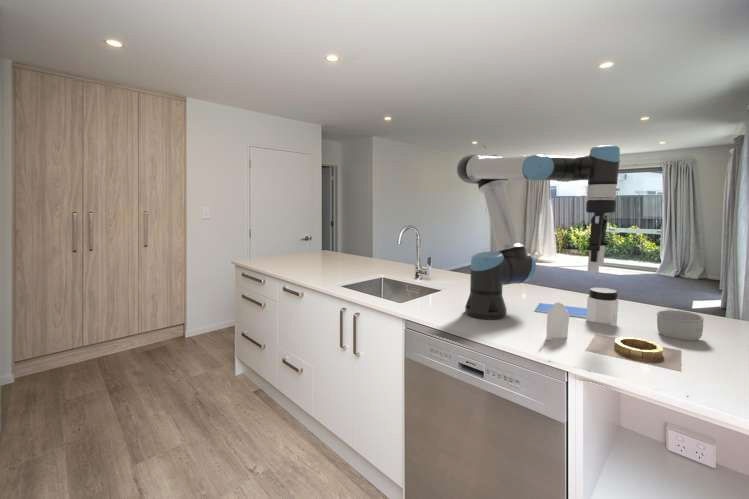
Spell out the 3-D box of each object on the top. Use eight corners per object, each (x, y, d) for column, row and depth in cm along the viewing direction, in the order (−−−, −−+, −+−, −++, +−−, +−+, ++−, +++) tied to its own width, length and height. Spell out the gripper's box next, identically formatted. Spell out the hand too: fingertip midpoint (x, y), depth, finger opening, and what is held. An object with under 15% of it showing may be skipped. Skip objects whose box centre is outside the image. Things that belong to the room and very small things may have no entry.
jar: (607, 330, 118) (610, 294, 117) (582, 323, 125) (584, 289, 123) (620, 324, 123) (622, 290, 121) (595, 318, 130) (597, 286, 128)
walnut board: (585, 355, 98) (585, 350, 98) (595, 338, 110) (595, 334, 110) (680, 377, 85) (681, 371, 85) (680, 355, 97) (681, 350, 97)
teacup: (705, 349, 101) (708, 322, 100) (657, 342, 107) (659, 316, 106) (694, 334, 113) (697, 309, 112) (651, 328, 119) (653, 305, 118)
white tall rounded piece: (565, 299, 111) (573, 304, 106) (563, 336, 113) (571, 343, 107) (545, 299, 112) (552, 304, 106) (543, 336, 113) (550, 342, 108)
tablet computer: (533, 312, 140) (533, 309, 139) (538, 305, 150) (538, 302, 150) (591, 320, 129) (591, 317, 129) (592, 311, 140) (592, 308, 140)
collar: (611, 352, 96) (612, 345, 96) (617, 341, 104) (617, 334, 104) (661, 363, 90) (661, 355, 89) (662, 350, 98) (663, 343, 97)
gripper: (612, 199, 95) (606, 277, 98) (619, 199, 115) (613, 264, 118) (580, 199, 100) (575, 274, 102) (591, 199, 119) (587, 262, 122)
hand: (595, 269), depth 110 cm, fingers open, 13 cm apart
